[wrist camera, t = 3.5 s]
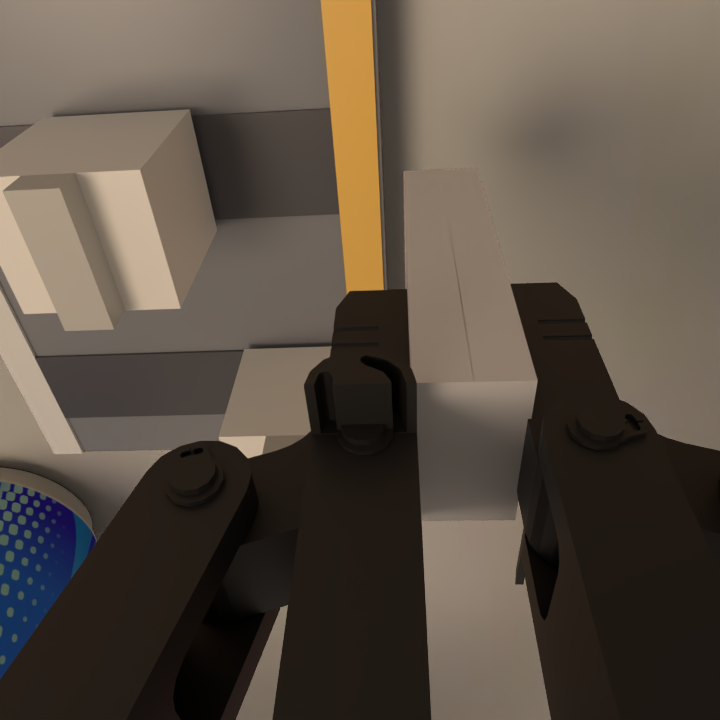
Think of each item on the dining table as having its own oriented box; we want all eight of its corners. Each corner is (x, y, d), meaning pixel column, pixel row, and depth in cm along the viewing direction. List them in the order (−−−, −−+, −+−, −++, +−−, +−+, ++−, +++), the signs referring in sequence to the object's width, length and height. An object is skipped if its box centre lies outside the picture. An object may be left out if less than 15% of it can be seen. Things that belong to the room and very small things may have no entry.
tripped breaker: (87, 235, 18) (8, 332, 15) (43, 117, 16) (-64, 194, 12) (217, 230, 18) (171, 327, 14) (189, 109, 16) (127, 184, 12)
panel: (72, 418, 27) (-12, 566, 21) (-331, -400, 12) (-943, -633, 7) (392, 410, 26) (395, 562, 20) (357, -479, 11) (332, -826, 6)
